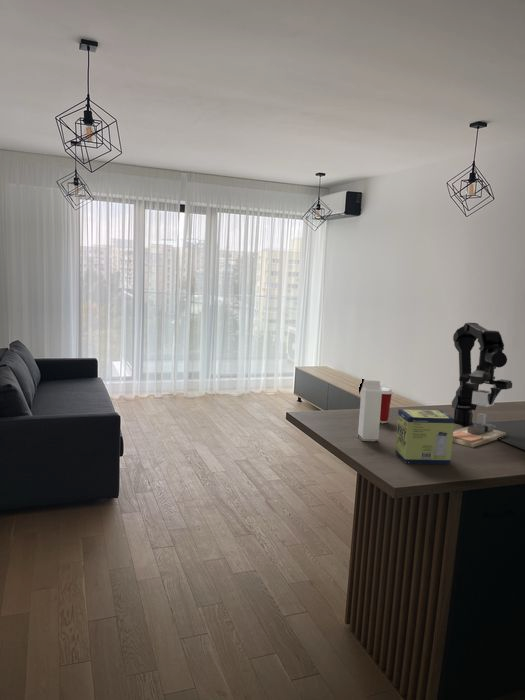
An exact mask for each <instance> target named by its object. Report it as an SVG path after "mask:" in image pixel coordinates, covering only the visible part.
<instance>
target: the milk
mask: <svg viewBox="0 0 525 700" xmlns="http://www.w3.org/2000/svg"><path fill="white" fill-rule="evenodd" d="M381 398H382V390H381V381H380V380H363V384H362V385H361V388H360V399H359V400H360V401H359V402H360V403H359V404H360V405H359V418H358V430H357V432H358V433H357V435H358V434H359V435H360V436H361V437H362V438H363V439H378V440H379V434H380V411H381Z"/></svg>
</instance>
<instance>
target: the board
mask: <svg viewBox="0 0 525 700" xmlns="http://www.w3.org/2000/svg"><path fill="white" fill-rule="evenodd" d="M467 431H468V426H465V427H461V428H458V429H454V430H453V441H452V443H455V444H458V445H462V446H465V447H469V448H475V447H479V446H481V445H484V444H487V443H490V442H493V441H496V440H498V439H497V438H498V437H501V436H503V435H507V432H506V431H501V430H497V429H495V428H493V431H491V432H488V433H487V432H484V434H481V435H476V434H472V433H468V432H467Z"/></svg>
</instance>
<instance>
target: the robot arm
mask: <svg viewBox="0 0 525 700" xmlns="http://www.w3.org/2000/svg"><path fill="white" fill-rule="evenodd" d="M452 340H453V342H454V343H453V345H454V347H455V349H456V351H457V352H458V361H459V362H458V366H459V367H458V371H459V377H458V378H459V379H458V381H459V387H458V388H457V390H456V391H455V396H454V397H453V399H452V401H451V407H452V408H453V409H454V414H453V418H454V424H459V425H463V426H468V425H472V424H473V416H474V414H473V411H476V408H477V406H478V405H476V404H472V394H473V391H475V390H479V385H480V386H481V385H483V384H485V385H491V386H493V387H490V391H491V397H490V405H492V404H493V402H494V403H495V400H496V399H497V397H498V396H499V394H500V392H501V391H502V390H503V391H504V390H510V389H512V388H513V382H512V380H508V379H503V378H501V379H497V380H495V379H496V376H495V370H496V369H497V368H503V367H504V366H505V365H506V364H507V363H508V358H507V355H506V354H505V353H504V352H503V351H504V349H505V344H504V341H503V337H502V334H501V333H500V332H499V330H493V329H492V330H489V329H487V328H485V327H483V326H482V325H480V324H479V323H477V322H466V323H464V325H463V326H461V327H459V328H457V329H456V330H455V332H454V334H453V336H452ZM476 341H477V343H478V344H479V348H478V350H479V358H478V359H479V360H478V365H476V369H475V370H474V371H472V357H471V356H472V352H471V351H472V349H474V347H475V344H476V343H475V342H476ZM492 406H493V405H492ZM467 424H468V425H467Z"/></svg>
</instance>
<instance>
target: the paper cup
mask: <svg viewBox="0 0 525 700" xmlns="http://www.w3.org/2000/svg"><path fill="white" fill-rule="evenodd" d="M380 387H381V386H380ZM381 390H382V398H381V411H380V420H381V421H387V420H388V421H389V415H390V407H391V400H392V395H393V392H392V391H393V390H392V388H388V387H383V386H382V387H381Z"/></svg>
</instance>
